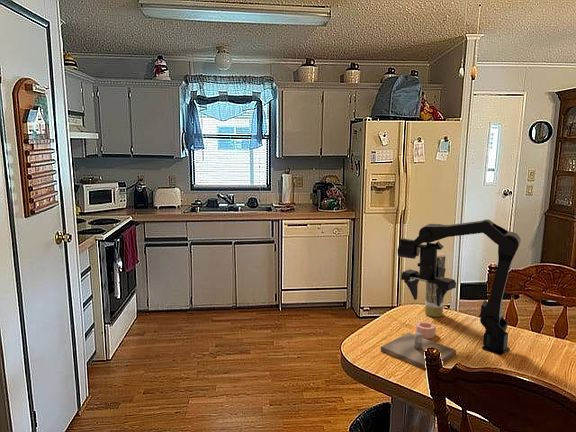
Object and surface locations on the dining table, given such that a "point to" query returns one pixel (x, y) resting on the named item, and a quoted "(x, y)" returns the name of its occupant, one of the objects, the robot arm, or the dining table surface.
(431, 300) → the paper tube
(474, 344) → the dining table surface
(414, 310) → the dining table surface
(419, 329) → the spool ring
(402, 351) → the board
